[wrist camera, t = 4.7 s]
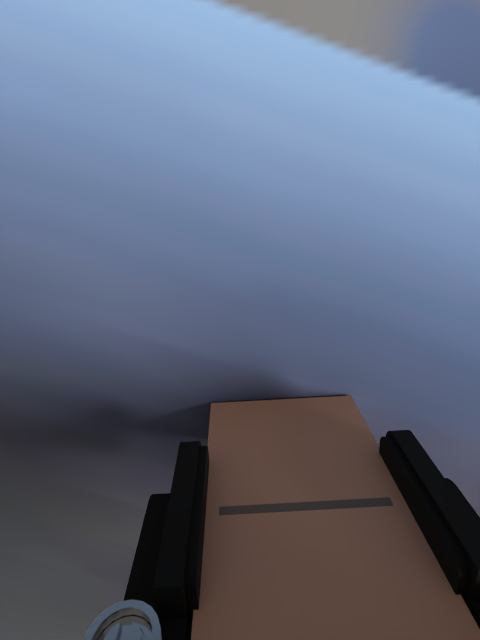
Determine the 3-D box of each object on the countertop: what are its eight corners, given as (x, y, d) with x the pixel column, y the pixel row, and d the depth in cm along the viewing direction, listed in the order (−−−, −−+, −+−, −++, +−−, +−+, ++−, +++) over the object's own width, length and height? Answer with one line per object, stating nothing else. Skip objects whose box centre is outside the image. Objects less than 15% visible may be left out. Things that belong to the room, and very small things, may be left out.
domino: (348, 434, 14) (542, 858, 5) (214, 441, 14) (188, 878, 5) (350, 395, 13) (574, 800, 5) (211, 402, 13) (174, 824, 5)
